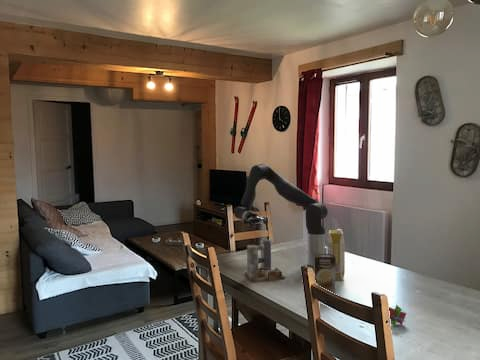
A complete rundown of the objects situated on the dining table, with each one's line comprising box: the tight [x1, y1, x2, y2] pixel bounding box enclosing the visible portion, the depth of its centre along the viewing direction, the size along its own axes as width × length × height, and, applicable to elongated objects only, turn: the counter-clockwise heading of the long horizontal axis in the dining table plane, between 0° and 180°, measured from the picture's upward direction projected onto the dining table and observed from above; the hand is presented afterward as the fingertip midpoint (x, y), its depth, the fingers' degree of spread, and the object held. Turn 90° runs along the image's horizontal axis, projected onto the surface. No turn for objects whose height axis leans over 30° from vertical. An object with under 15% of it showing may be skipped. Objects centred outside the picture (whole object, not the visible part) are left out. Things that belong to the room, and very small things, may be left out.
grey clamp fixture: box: [258, 238, 272, 271], centre depth 211 cm, size 8×5×15 cm, turn 104°
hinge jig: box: [244, 244, 286, 283], centre depth 198 cm, size 17×13×16 cm
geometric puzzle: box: [389, 304, 407, 328], centre depth 142 cm, size 7×7×8 cm
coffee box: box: [312, 253, 336, 294], centre depth 177 cm, size 9×6×16 cm
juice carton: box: [326, 228, 346, 282], centre depth 193 cm, size 9×8×24 cm
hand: (258, 223), depth 221 cm, fingers open, 8 cm apart
